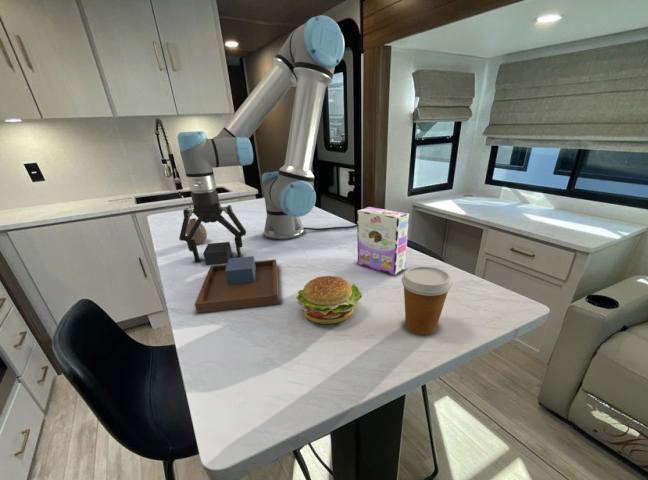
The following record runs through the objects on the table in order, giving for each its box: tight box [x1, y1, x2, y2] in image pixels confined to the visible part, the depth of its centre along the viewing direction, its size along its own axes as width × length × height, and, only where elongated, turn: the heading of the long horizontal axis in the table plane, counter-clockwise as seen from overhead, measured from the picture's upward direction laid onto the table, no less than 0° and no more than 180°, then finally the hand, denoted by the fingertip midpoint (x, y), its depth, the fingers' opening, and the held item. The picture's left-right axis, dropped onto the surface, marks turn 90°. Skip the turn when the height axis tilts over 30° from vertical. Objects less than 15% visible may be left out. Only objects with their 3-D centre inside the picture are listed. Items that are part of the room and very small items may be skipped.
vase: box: [186, 217, 208, 245], centre depth 117 cm, size 7×7×9 cm
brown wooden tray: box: [194, 259, 280, 314], centre depth 85 cm, size 19×23×2 cm
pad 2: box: [225, 255, 256, 284], centre depth 89 cm, size 7×9×4 cm
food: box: [295, 275, 363, 325], centre depth 72 cm, size 14×14×8 cm
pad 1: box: [202, 241, 233, 266], centre depth 104 cm, size 7×9×4 cm
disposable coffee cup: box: [401, 265, 453, 336], centre depth 65 cm, size 10×10×12 cm
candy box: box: [356, 206, 410, 276], centre depth 91 cm, size 14×6×16 cm, turn 47°
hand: (218, 258), depth 104 cm, fingers open, 13 cm apart
